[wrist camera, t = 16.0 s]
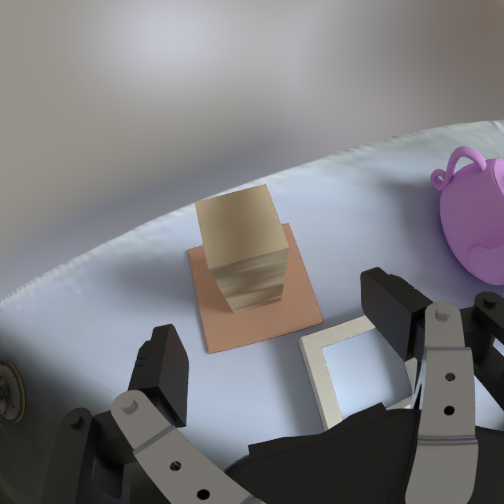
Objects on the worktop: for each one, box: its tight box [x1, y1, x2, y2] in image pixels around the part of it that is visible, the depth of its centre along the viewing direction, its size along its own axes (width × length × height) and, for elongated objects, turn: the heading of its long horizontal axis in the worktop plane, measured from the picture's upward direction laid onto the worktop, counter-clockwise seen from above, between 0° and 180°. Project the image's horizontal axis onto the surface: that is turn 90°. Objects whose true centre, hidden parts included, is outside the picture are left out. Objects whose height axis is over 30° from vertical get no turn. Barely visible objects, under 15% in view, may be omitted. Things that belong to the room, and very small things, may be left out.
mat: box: [188, 223, 323, 354], centre depth 30 cm, size 12×12×1 cm
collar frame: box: [298, 315, 417, 431], centre depth 24 cm, size 12×12×3 cm
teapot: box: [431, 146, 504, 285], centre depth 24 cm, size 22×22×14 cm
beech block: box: [195, 184, 289, 314], centre depth 24 cm, size 5×5×13 cm
